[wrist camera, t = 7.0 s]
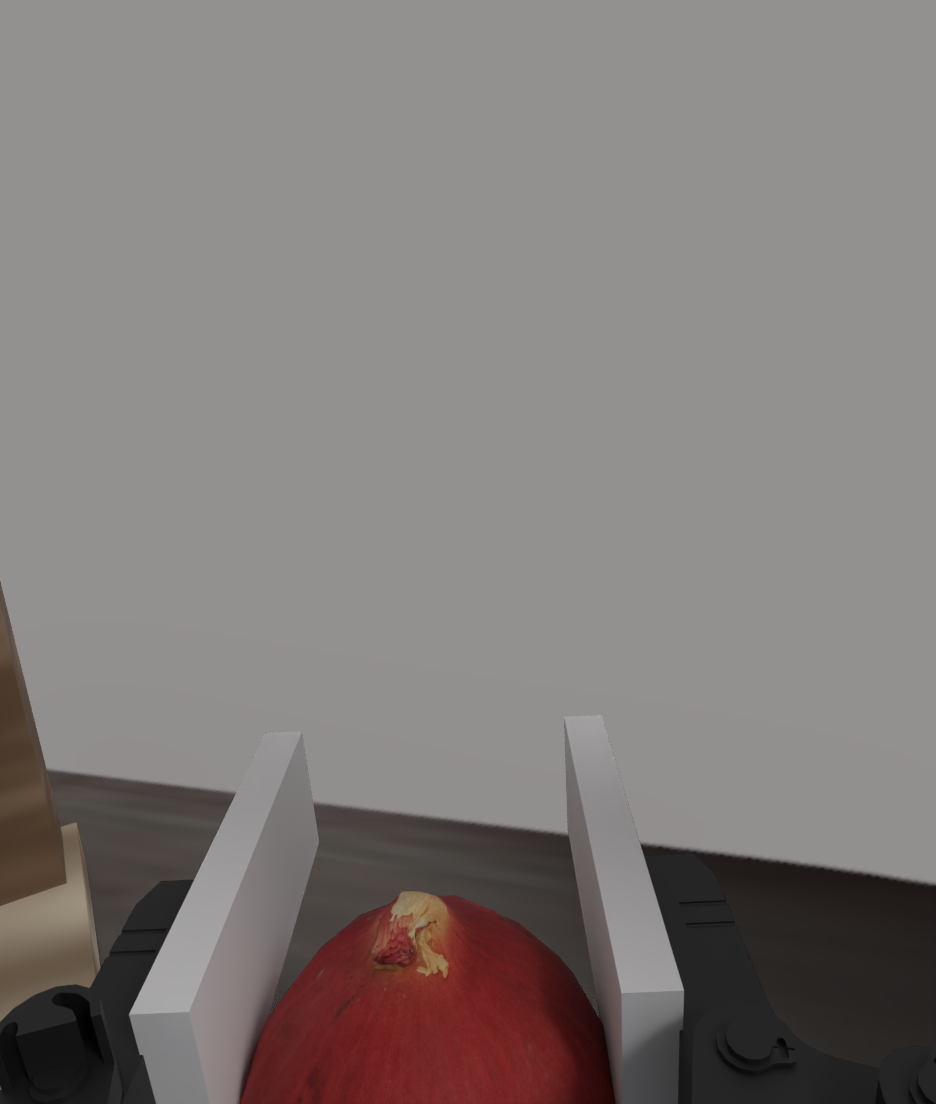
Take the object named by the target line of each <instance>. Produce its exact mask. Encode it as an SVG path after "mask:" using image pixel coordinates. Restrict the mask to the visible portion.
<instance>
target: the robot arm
mask: <svg viewBox="0 0 936 1104" xmlns="http://www.w3.org/2000/svg"><path fill="white" fill-rule="evenodd" d="M564 728H565V757H566V787H567V816H568V817H567V818H568V833H569V839H570V845H571V851H572V856H573V862H574V868H575V874H576V880H577V886H578V892H579V897H580V903H581V909H582V915H583V921H584V927H585V933H586V938H587V944H588V950H589V956H590V962H591V968H592V974H593V979H594V985H595V991H596V997H597V1003H598V1009H599V1015H600V1020H601V1022H602V1024H603V1026H604V1032H605V1039H606V1045H607V1051H608V1058H609V1064H610V1071H611V1077H612V1083H613V1090H614V1096H615V1104H936V1049H933V1048H926V1047H919V1046H911V1047H906V1048H901V1049H897V1050H894V1051H893V1052H892V1053H891V1054H890V1055H889V1056H888V1057H886V1058H885V1059H884V1060H883V1061H882V1065H881V1069H878V1068H874V1067H870V1066H866V1065H862V1064H858V1063H854V1062H850V1061H846V1060H842V1059H838V1058H835V1057H833V1056H830V1055H827V1054H824V1053H821V1052H819V1051H817V1050H815V1049H813V1048H811V1047H810V1046H808V1045H806V1044H804V1043H802V1042H801V1041H800V1040H799V1039H797V1038H796V1036H795V1035H794V1034H793V1033H792V1031H791V1030H790V1029H789V1028H788V1027H787V1025H786V1024H785V1023H783V1022H782V1021H780V1020H779V1019H778V1018H776V1016H775V1014H774V1012H773V1011H772V1009H771V1007H770V1005H769V1003H768V1001H767V998H766V996H765V993H764V991H763V989H762V986H761V984H760V981H759V979H758V976H757V974H756V972H755V969H754V967H753V964H752V962H751V959H750V957H749V955H748V952H747V950H746V947H745V945H744V943H743V940H742V938H741V935H740V933H739V930H738V928H737V926H735V921H734V918H733V916H732V914H731V911H730V909H729V906H728V905H727V904H726V899H725V897H724V894H723V892H722V889H721V887H720V884H719V882H718V880H717V877H716V875H715V874H714V873H713V872H712V871H711V870H710V869H709V868H708V867H707V866H706V865H705V864H704V863H703V862H702V861H701V860H700V859H699V858H698V857H697V856H696V855H695V854H694V853H690V854H669V855H648V856H644V855H643V852H642V848H641V845H640V842H639V838H638V835H637V832H636V828H635V825H634V822H633V818H632V815H631V811H630V808H629V805H628V801H627V798H626V795H625V791H624V788H623V785H622V781H621V778H620V775H619V771H618V768H617V765H616V761H615V758H614V755H613V751H612V748H611V744H610V741H609V738H608V735H607V731H606V728H605V725H604V721H603V718H602V715H590V716H572V717H564ZM318 844H319V839H318V832H317V826H316V819H315V813H314V806H313V799H312V793H311V787H310V780H309V773H308V767H307V760H306V754H305V748H304V741H303V735H302V731H297V732H279V733H265V735H264V737H263V739H262V741H261V743H260V745H259V747H258V749H257V752H256V754H255V756H254V758H253V760H252V762H251V764H250V766H249V768H248V770H247V772H246V774H245V776H244V778H243V780H242V783H241V785H240V787H239V789H238V791H237V793H236V795H235V797H234V799H233V801H232V803H231V805H230V807H229V809H228V811H227V813H226V815H225V818H224V820H223V822H222V824H221V826H220V828H219V830H218V832H217V834H216V836H215V838H214V840H213V842H212V844H211V846H210V848H209V851H208V853H207V855H206V857H205V859H204V861H203V863H202V865H201V867H200V869H199V871H198V873H197V875H196V877H195V879H194V880H177V881H161V882H160V883H159V884H158V885H156V886H155V887H154V888H153V889H152V890H151V891H150V892H149V893H148V894H147V895H146V896H145V897H144V898H143V899H142V900H141V901H139V902H138V903H137V904H136V906H135V908H134V909H133V911H132V913H131V915H130V917H129V918H128V920H127V922H126V924H125V926H124V927H123V929H122V934H121V936H118V938H117V940H116V942H115V943H114V945H113V947H112V949H111V951H110V956H109V957H107V958H106V959H105V961H104V963H103V965H102V967H101V968H100V970H99V972H98V974H97V975H96V977H95V979H94V981H93V983H92V984H91V986H90V988H88V987H84V986H81V985H77V984H74V985H65V986H56V987H54V988H51V989H48V990H46V991H43V992H40V993H38V994H35V995H33V996H32V997H30V998H29V999H27V1000H26V1001H24V1002H23V1003H21V1004H19V1005H18V1006H16V1007H15V1008H13V1009H12V1010H11V1011H10V1012H9V1013H8V1014H7V1015H6V1016H5V1017H4V1018H3V1019H2V1020H1V1021H0V1087H1V1090H0V1104H240V1101H241V1098H242V1094H243V1091H244V1087H245V1084H246V1080H247V1077H248V1073H249V1070H250V1066H251V1063H252V1059H253V1056H254V1052H255V1049H256V1045H257V1042H258V1040H259V1037H260V1035H261V1032H262V1030H263V1027H264V1025H265V1022H266V1021H267V1019H268V1017H269V1013H270V1010H271V1006H272V1003H273V999H274V996H275V992H276V989H277V985H278V982H279V979H280V975H281V972H282V968H283V965H284V961H285V958H286V954H287V951H288V947H289V944H290V941H291V937H292V934H293V930H294V927H295V923H296V920H297V916H298V913H299V909H300V906H301V903H302V899H303V896H304V892H305V889H306V885H307V882H308V878H309V875H310V871H311V868H312V865H313V861H314V858H315V854H316V851H317V847H318Z"/></svg>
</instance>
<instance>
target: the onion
mask: <svg viewBox="0 0 936 1104" xmlns="http://www.w3.org/2000/svg"><path fill="white" fill-rule="evenodd" d="M240 1104H615V1096H614V1090H613V1083H612V1077H611V1071H610V1064H609V1058H608V1051H607V1045H606V1039H605V1032H604V1026H603V1024H602V1022H601V1021H600V1019H599V1017H598V1016H597V1014H596V1012H595V1010H594V1009H593V1007H592V1005H591V1003H590V1002H589V1000H588V998H587V996H586V995H585V993H584V991H583V989H582V988H581V986H580V984H579V983H578V981H577V979H576V977H575V976H574V974H573V972H572V971H571V970H570V969H569V968H568V967H567V965H566V964H565V963H564V962H563V961H562V960H561V959H560V957H559V956H558V955H557V954H555V953H554V952H553V951H552V950H551V949H549V948H548V947H547V946H546V945H544V944H543V943H542V942H541V941H540V940H538V939H537V938H536V937H535V936H534V935H532V934H531V933H530V932H529V931H528V930H526V929H525V928H524V927H523V926H521V925H520V924H519V923H517V922H515V921H512V920H510V919H508V918H505V917H503V916H501V915H499V914H498V913H496V912H495V911H493V910H491V909H488V908H486V907H483V906H480V905H478V904H475V903H473V902H470V901H468V900H465V899H463V898H460V897H458V896H434V895H431V894H428V893H424V892H418V891H403V892H402V893H401V894H400V895H399V896H398V897H397V898H396V899H395V900H394V901H393V902H392V903H390V904H388V905H385V906H382V907H380V908H377V909H375V910H372V911H369V912H367V913H364V914H362V915H360V916H358V917H357V918H356V919H355V920H354V921H352V922H351V923H350V924H349V925H348V926H346V927H345V928H344V929H343V930H342V931H340V932H339V933H338V934H337V935H336V936H334V937H333V938H332V939H331V940H330V941H328V942H327V943H326V944H325V945H324V946H322V947H321V948H320V950H319V951H318V952H317V953H316V955H315V956H314V957H313V958H312V960H311V961H310V962H309V964H308V965H307V966H306V968H305V969H304V970H303V972H302V973H301V974H300V975H299V977H298V978H297V979H296V981H295V982H294V983H293V985H292V986H291V987H290V989H289V990H288V991H287V993H286V994H285V995H284V997H283V998H282V999H281V1000H280V1002H279V1003H278V1005H277V1006H276V1008H275V1009H274V1011H273V1012H272V1013H271V1015H270V1016H269V1018H268V1019H267V1021H266V1022H265V1025H264V1027H263V1030H262V1032H261V1035H260V1037H259V1040H258V1042H257V1045H256V1049H255V1052H254V1056H253V1059H252V1063H251V1066H250V1070H249V1073H248V1077H247V1080H246V1084H245V1087H244V1091H243V1094H242V1098H241V1101H240Z"/></svg>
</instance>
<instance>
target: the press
mask: <svg viewBox="0 0 936 1104" xmlns="http://www.w3.org/2000/svg"><path fill="white" fill-rule="evenodd" d="M99 970H100V961H99V953H98V946H97V938H96V931H95V923H94V916H93V908H92V901H91V893H90V886H89V878H88V871H87V865H86V861H85V856H84V852H83V848H82V844H81V839H80V835H79V831H78V827H77V823H76V822H75V823H72V824H69V825H66V826H63V827H60V823H59V819H58V815H57V811H56V807H55V803H54V798H53V794H52V790H51V786H50V782H49V778H48V774H47V770H46V766H45V762H44V758H43V754H42V750H41V745H40V741H39V737H38V733H37V729H36V725H35V721H34V717H33V713H32V709H31V705H30V701H29V697H28V693H27V688H26V684H25V680H24V676H23V673H22V668H21V664H20V660H19V656H18V652H17V648H16V644H15V639H14V635H13V631H12V627H11V623H10V619H9V615H8V611H7V607H6V603H5V599H4V595H3V591H2V587H1V582H0V1021H1V1020H2V1019H3V1018H4V1017H5V1016H6V1015H7V1014H8V1013H9V1012H10V1011H11V1010H12V1009H13V1008H15V1007H16V1006H18V1005H19V1004H21V1003H23V1002H24V1001H26V1000H27V999H29V998H30V997H32V996H33V995H35V994H38V993H40V992H43V991H46V990H48V989H51V988H54V987H56V986H65V985H74V984H77V985H81V986H84V987H88V988H90V986H91V984H92V983H93V981H94V979H95V977H96V975H97V974H98V972H99ZM0 1090H1V1087H0Z"/></svg>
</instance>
